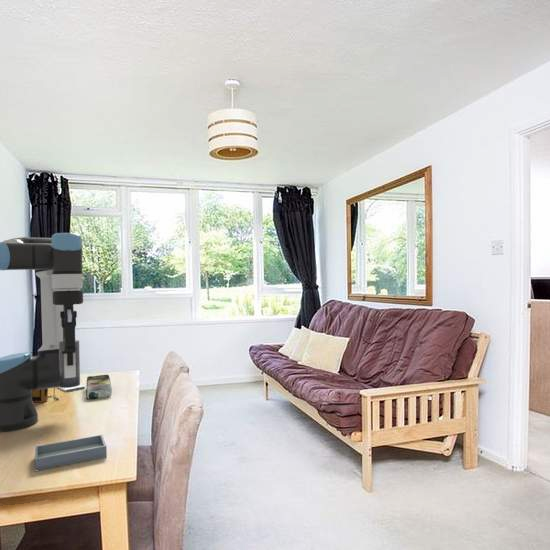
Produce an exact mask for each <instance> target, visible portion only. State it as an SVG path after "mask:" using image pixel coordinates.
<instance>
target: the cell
mask: <svg viewBox="0 0 550 550" xmlns="http://www.w3.org/2000/svg"><path fill="white" fill-rule="evenodd" d="M75 348H76V351H75V359H76V377H72V378H65V375H64V354H62V351H65V350H64V349H65V342H64V341H61V342H59V372H60V387H61V388H70V387H76V386H79V385H81V373H80V372H81V370H80V369H81V365H80V364H81V363H80V361H81V360H80V340H79V339H75Z"/></svg>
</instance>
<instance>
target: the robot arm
mask: <svg viewBox="0 0 550 550" xmlns="http://www.w3.org/2000/svg"><path fill="white" fill-rule="evenodd" d="M82 240H83V239H82V236H81V235H80V234H79V233H74V232H72V233H71V232H56V233H54V234H52V235H51V237H30V236H29V237H26V236H24V237H23V236H22V237H14V238H9V239H5V240H3V241H2V242H1V241H0V271H18V270H20V271H25V270H31V271H32V270H35V276H36V277H38V278H39V279H40V302H41V303H40V304H41V334H42V335H41V336H42V337H41V339H42V345H41V347H39V349H38V350H37V355H35V356H34V355H33V356H32V353H30V352H28V351H26V352H25V351H24V352H18V353H12V354H8V355H4V356H1V357H0V433H1V432H9V431H10V430H11V431H15V429H16V430H21V429H23V428H24V429H25V428H27V427H29V426H32V425H34V424H36V423H37V422H38V420H39V413H38V411H37V408H36V405H35V404H34V403H35V402H33V401H32V391H33V390H40V389H48V390H49V389H54V388H55V389H56V388H57V387H60V372H59V342H61V341H64V342H65V349H64V350H65V351H62V354H64V375H65V378H72V377H76V359H75V351H76V348H75V340H76V327H77V316H78V314H77V313H78V312H77V310H74V305H82V304H83V303H84V291H83V290H81V289H83V287H84V286H83V284H84V283H83V282H85V281H86V278H85V277H83V247H84V246H83V241H82ZM20 428H21V429H20ZM11 431H10V432H11Z"/></svg>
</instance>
